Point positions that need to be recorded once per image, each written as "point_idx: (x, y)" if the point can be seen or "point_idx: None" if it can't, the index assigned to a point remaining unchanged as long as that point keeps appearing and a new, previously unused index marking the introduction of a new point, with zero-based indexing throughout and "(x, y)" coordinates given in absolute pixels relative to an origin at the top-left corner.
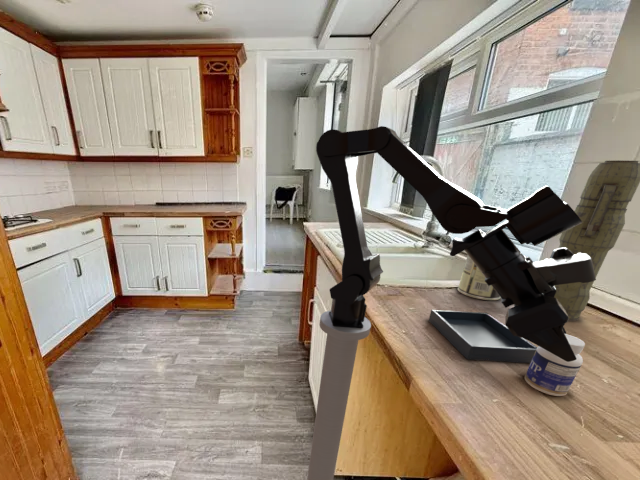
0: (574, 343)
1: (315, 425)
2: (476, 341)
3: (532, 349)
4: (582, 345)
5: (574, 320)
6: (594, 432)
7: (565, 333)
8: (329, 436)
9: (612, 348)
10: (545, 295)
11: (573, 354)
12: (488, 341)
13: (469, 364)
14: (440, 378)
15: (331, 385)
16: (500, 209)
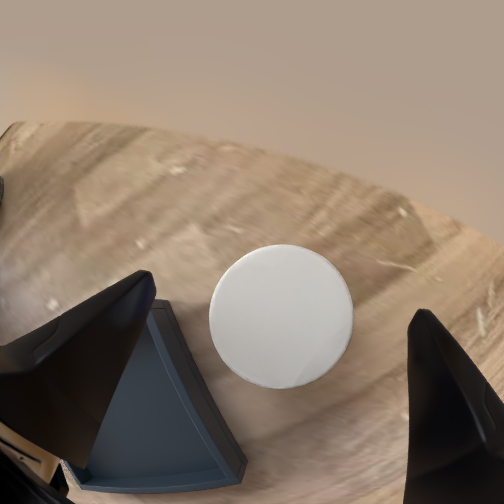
0: (329, 299)
1: None
2: (150, 431)
3: (153, 324)
4: (330, 266)
5: (2, 182)
6: (420, 253)
7: (149, 274)
8: None
9: (60, 142)
10: (1, 416)
11: (444, 328)
12: (130, 400)
13: (272, 458)
14: (368, 496)
15: None
16: None
